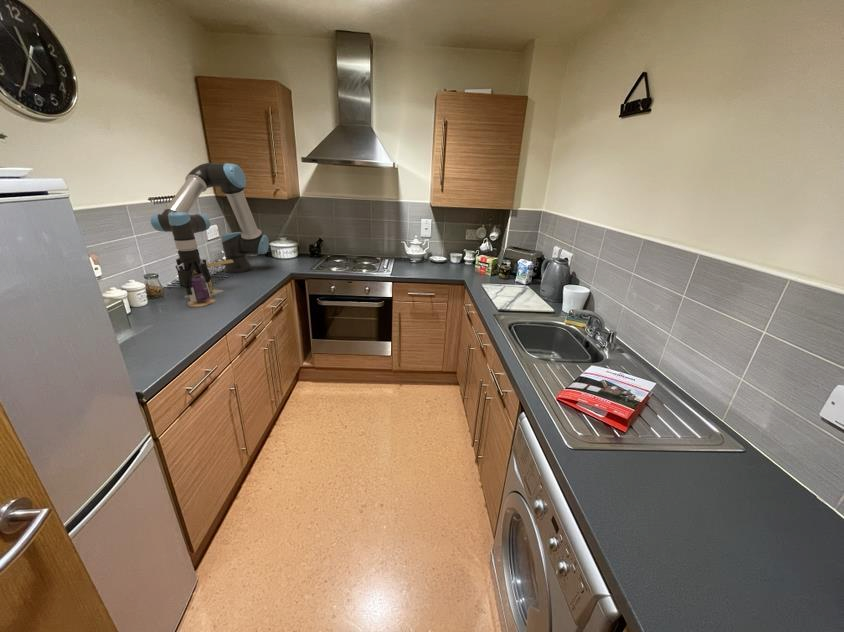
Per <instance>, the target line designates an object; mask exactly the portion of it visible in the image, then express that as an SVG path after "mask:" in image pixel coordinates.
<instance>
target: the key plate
mask: <svg viewBox="0 0 844 632" xmlns="http://www.w3.org/2000/svg"><path fill="white" fill-rule="evenodd" d="M224 293H225V290H224V289H216V288H215V289H214V288H213V291H211V292H210V295H211V296H210V297H209V298H214V297H216V296H219V295H222V294H224ZM184 298H186V299H190V298H189V295H188V294H186V295H184Z"/></svg>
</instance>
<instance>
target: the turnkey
mask: <svg viewBox="0 0 844 632" xmlns="http://www.w3.org/2000/svg"><path fill="white" fill-rule="evenodd" d="M227 263H233V260H226V259H224V260H220V261H213V262H206V265H207V267H208V268H209V267H215V266H220V265H221V266H222V265H225V264H227ZM193 273H197V272H196V271H195V270H193ZM208 283H209V291H210V292H211V291H213V289H214V288H213V284H212V283H213V282H212V279H211V280H210V282H208Z"/></svg>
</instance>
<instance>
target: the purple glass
mask: <svg viewBox="0 0 844 632" xmlns="http://www.w3.org/2000/svg"><path fill="white" fill-rule="evenodd" d="M191 277H192V280H191V287H193V289H194V293H195V296H196V300H197V301H203V300H206V299H208V298H209V297H210V296H209V292H208V288H207V285H206V281H205V277H204V276H203V274H202V273H200V274H199V273H192V276H191Z"/></svg>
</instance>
